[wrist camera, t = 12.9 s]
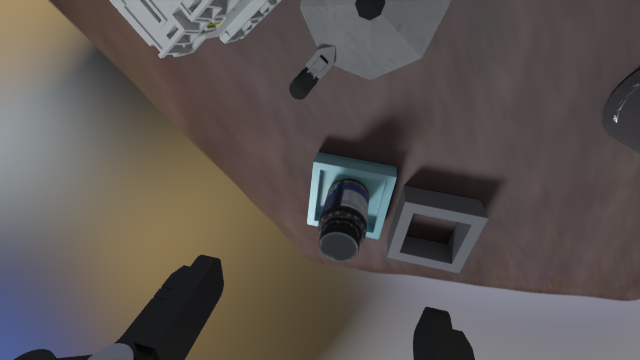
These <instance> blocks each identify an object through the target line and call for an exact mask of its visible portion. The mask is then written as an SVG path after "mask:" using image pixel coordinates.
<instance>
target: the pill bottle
mask: <svg viewBox="0 0 640 360" xmlns="http://www.w3.org/2000/svg"><path fill="white" fill-rule="evenodd" d="M368 208H369V193H368V190H367V189H366V187H365V186H364V185H363V184H362V183H360V182H359V181H357V180H354V179H342V180H338V181H336V182H335V183H333V184H332V185H331V187H330V188H329V190H328V193H327V196H326V200H325V203H324V206H323V210H322V213H321V216H320V220H319V223H318V231H319V234H320V240H319V248H320V251H321V252H322V253H323V255H324V256H326V257H327V258H329V259H331V260H333V261H337V262H346V261H349V260H352V259H353V258H354V257H356V255H357V254H358V251H359V245H360V243H362V241H363V240H364V239H365V236H366V232H367V219H368Z"/></svg>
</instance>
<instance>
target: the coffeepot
mask: <svg viewBox="0 0 640 360" xmlns="http://www.w3.org/2000/svg"><path fill="white" fill-rule="evenodd" d="M450 2H451V0H302V1H301V5H300V9H301V11H302V14H303V16H304V18H305V21H306V23H307V25H308V27H309V30H310V32H311V34H312V37H313V39H314V41H315V43H316V46H317V48H318V51H317V52H316V53H315V54H314V56H313V57H312V58H311V59H310V60H309V62H308V63H307V64H306V65H305V66H306V68H305V69H303V70H302V71H301V72H300V73H299V75H298V76H297V77H296V78H295V79H294V80H293V81H292V83H291V84H290V88H289V90H290V93H291V95H292V96H293V97H294V98H295V99H299V100H300V99H304V98H305V97H306V96H307V95H308V93H309V92H310V91H311V89H312V88H313V87H314V86H315V85H316V84H317V81H318V80H319V79H321V78H322V77H323V76H324V75H325V74H326V72H327V71H328V70H329V69H330V68H331V67H332V66H333V65H334V66H337V67H339V68H342V69H344V70H347V71H349V72H351V73H354V74H356V75H359V76H361V77H364V78H366V79H368V80H372V79H374V78H377V77H379V76H381V75H384V74H386V73H388V72H391V71H393V70H395V69H398V68H400V67H402V66H405V65H407V64H409V63H412V62H414V61H416V60H419V59H421V58H422V57H423V55H424V53H425V51H426V49H427V47H428V45H429V43H430V41H431V39H432V37H433V35H434V33H435V32H436V30H437V28H438V26H439V24H440V22H441V20H442V18H443V16H444V14H445V12H446V10H447V8H448V6H449V4H450Z"/></svg>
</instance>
